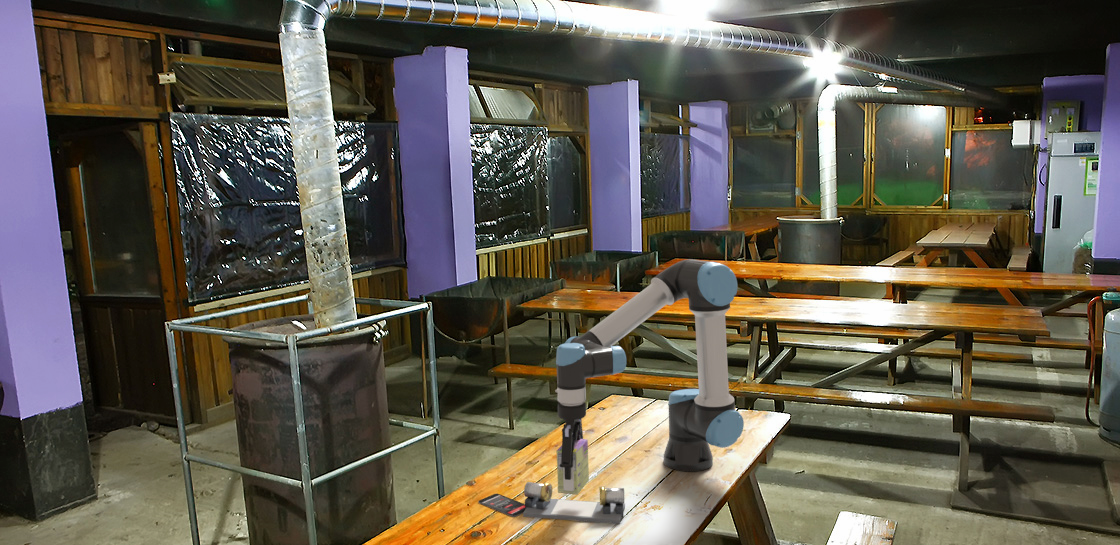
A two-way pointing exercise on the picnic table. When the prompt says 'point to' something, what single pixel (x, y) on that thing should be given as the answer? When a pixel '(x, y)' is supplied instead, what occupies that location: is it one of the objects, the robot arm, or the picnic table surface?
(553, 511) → the bed
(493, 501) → the smartphone
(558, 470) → the box
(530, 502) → the shaft
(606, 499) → the shaft
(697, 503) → the picnic table surface
